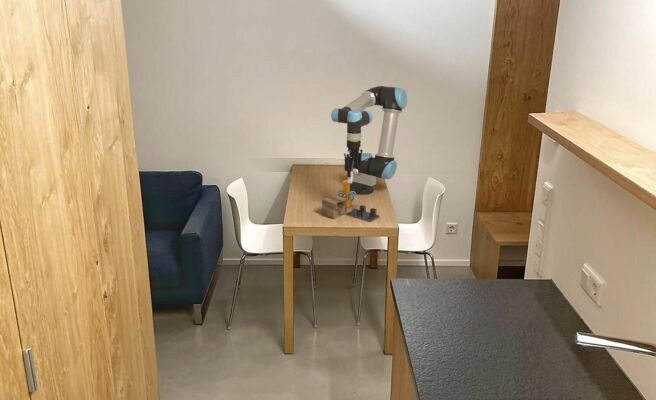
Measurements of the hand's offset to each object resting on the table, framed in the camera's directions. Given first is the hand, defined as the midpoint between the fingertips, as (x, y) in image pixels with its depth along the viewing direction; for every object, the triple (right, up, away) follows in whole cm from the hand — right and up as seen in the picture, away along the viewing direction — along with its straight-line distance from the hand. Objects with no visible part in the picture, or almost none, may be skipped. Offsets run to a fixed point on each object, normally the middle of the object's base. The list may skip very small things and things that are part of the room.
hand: (352, 181), depth 336 cm
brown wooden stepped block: (-10, -18, +4) cm, 21 cm away
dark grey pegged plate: (+5, -19, +3) cm, 20 cm away
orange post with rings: (-3, -14, +17) cm, 23 cm away
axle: (+5, -1, -4) cm, 7 cm away
